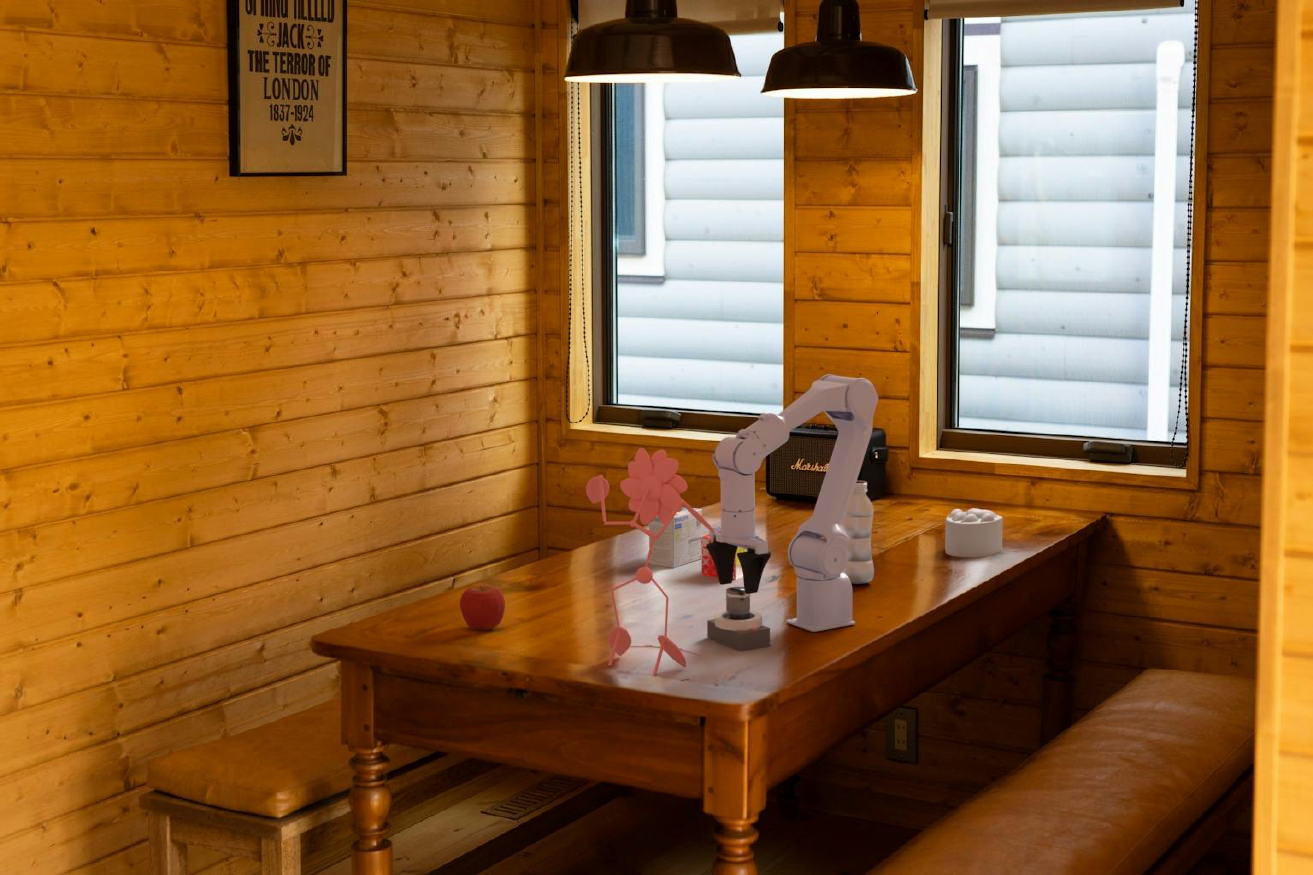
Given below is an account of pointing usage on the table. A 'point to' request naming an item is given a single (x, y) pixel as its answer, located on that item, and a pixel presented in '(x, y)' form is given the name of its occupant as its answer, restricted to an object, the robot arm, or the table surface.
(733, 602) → the lens
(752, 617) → the camera body
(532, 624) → the table surface
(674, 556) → the light bulb box
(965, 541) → the lumpy-topped squat cylinder
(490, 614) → the apple
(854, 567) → the plastic bottle
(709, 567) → the red patterned gift box
